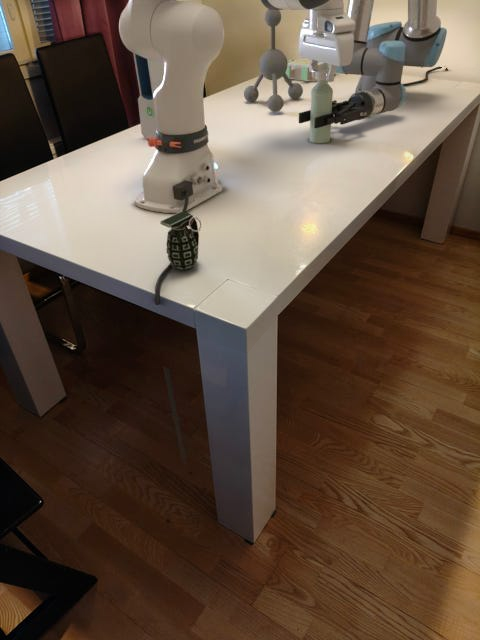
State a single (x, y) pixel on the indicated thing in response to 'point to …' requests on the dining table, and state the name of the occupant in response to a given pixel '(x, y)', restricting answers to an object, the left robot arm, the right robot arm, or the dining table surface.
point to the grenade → (182, 240)
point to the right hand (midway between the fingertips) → (307, 120)
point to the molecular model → (273, 69)
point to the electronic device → (148, 92)
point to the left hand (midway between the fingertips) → (322, 79)
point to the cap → (321, 74)
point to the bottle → (320, 111)
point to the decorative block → (303, 69)
